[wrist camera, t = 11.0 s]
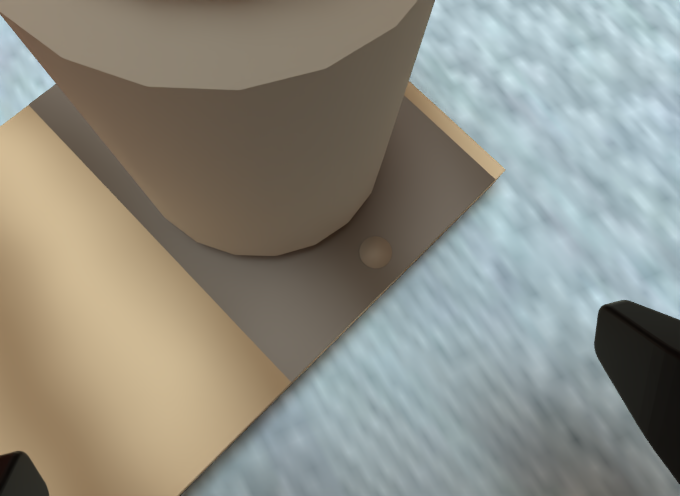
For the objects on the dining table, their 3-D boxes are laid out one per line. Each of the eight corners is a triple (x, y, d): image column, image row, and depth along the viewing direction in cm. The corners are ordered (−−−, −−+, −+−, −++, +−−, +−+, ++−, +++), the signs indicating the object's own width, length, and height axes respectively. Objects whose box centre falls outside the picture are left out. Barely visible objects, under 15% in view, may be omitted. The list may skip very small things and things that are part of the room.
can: (200, 305, 17) (-27, 117, 5) (107, 95, 18) (-231, -408, 7) (422, 202, 18) (626, -136, 7) (318, 12, 20) (334, -539, 8)
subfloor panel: (73, 600, 16) (49, 622, 15) (-175, 298, 18) (-220, 289, 16) (491, 185, 20) (506, 168, 19) (255, -33, 22) (251, -65, 20)
